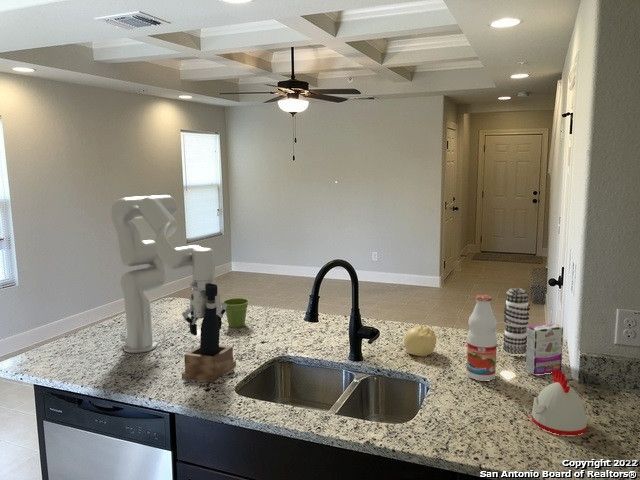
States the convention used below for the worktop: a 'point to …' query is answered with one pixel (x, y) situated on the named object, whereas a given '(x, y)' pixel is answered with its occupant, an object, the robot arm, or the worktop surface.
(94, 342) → the worktop surface
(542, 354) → the candy bar box
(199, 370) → the bottle stand
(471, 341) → the fruit juice
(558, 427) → the white and red dome
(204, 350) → the black water bottle
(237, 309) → the plant pot
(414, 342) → the pale yellow round lump
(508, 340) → the decorative candle
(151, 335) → the robot arm
